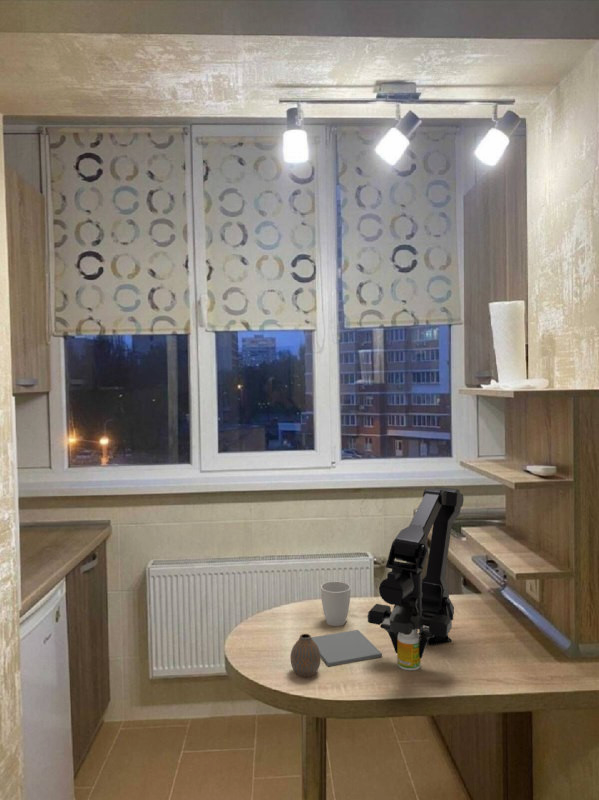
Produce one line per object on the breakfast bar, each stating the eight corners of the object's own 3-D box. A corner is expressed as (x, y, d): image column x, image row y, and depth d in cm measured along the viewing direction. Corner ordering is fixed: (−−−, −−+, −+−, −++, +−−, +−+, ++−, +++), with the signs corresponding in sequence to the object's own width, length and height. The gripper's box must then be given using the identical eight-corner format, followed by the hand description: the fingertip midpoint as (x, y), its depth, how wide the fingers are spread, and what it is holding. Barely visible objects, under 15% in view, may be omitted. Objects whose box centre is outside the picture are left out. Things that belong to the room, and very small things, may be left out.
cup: (350, 616, 172) (350, 581, 171) (350, 629, 164) (350, 592, 163) (321, 615, 172) (321, 581, 172) (320, 628, 164) (319, 591, 164)
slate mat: (357, 632, 161) (357, 629, 161) (381, 656, 148) (382, 653, 148) (308, 640, 157) (308, 637, 157) (328, 666, 144) (328, 663, 144)
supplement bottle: (415, 673, 140) (415, 632, 140) (393, 667, 143) (393, 626, 142) (423, 663, 145) (424, 623, 144) (402, 657, 148) (402, 618, 147)
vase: (291, 665, 144) (291, 629, 144) (320, 665, 144) (320, 629, 144) (289, 680, 137) (289, 642, 137) (320, 680, 137) (320, 642, 137)
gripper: (359, 595, 140) (359, 662, 141) (441, 609, 131) (440, 680, 132) (375, 579, 150) (375, 642, 151) (452, 591, 141) (451, 657, 142)
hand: (409, 655), depth 144 cm, fingers closed on supplement bottle, 5 cm apart
